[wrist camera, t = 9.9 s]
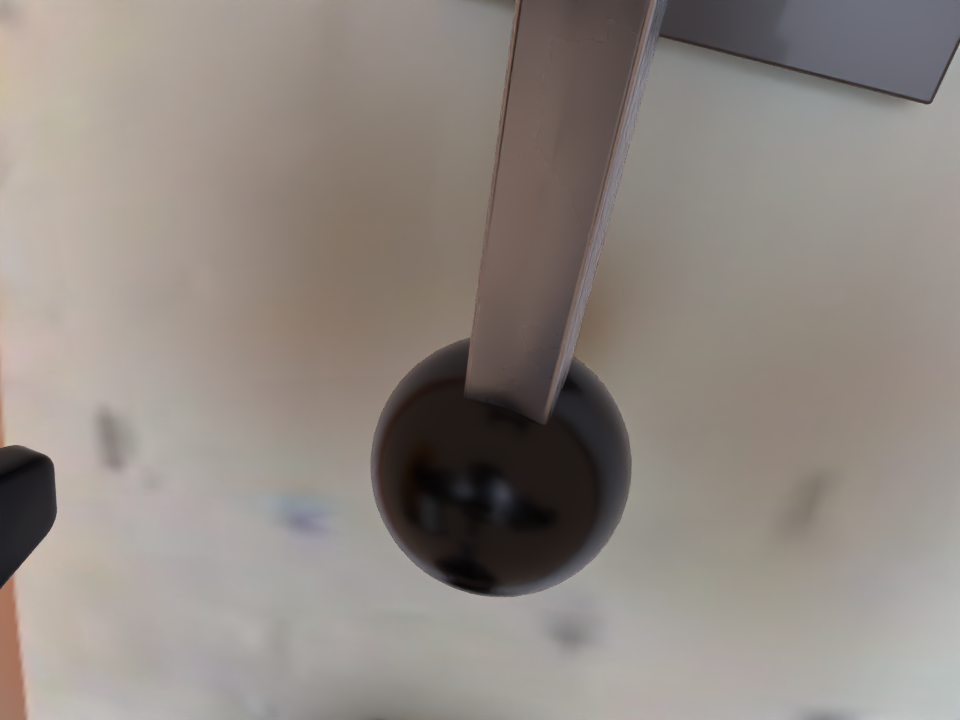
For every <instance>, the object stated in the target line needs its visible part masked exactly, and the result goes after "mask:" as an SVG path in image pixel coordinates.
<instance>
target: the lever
mask: <svg viewBox="0 0 960 720" xmlns="http://www.w3.org/2000/svg"><path fill="white" fill-rule="evenodd" d="M667 3H668V0H516V2H515V10H514V17H513V25H512V32H511V40H510V47H509V55H508V62H507V70H506V77H505V85H504V92H503V100H502V107H501V115H500V122H499V130H498V137H497V145H496V152H495V160H494V168H493V175H492V183H491V190H490V198H489V205H488V213H487V220H486V228H485V235H484V243H483V250H482V258H481V265H480V273H479V280H478V288H477V295H476V303H475V310H474V318H473V325H472V333H471V338H467V339H464V340H460V341H457V342H455V343H452V344H450V345H448V346H446V347H443V348H441V349H439V350H437V351H436V352H434V353H433V354H431V355H430V356H428V357H427V358H425V359H424V360H423V361H421V362H420V363H418V364H417V365H416V366H415V367H414V368H413V369H412V370H411V371H410V372H409V373H408V374H407V375H406V376H405V377H404V378H403V379H402V380H401V381H400V383H399V384H398V385H397V387H396V388H395V390H394V391H393V392H392V394H391V396H390V397H389V399H388V401H387V403H386V404H385V406H384V408H383V410H382V412H381V415H380V418H379V421H378V424H377V427H376V430H375V433H374V438H373V444H372V452H371V480H372V487H373V492H374V497H375V501H376V504H377V507H378V510H379V512H380V515H381V518H382V520H383V522H384V524H385V526H386V528H387V530H388V531H389V533H390V535H391V536H392V538H393V540H394V541H395V543H396V544H397V545H398V547H399V548H400V549H401V550H402V551H403V552H404V553H405V554H406V556H407V557H408V558H409V559H410V560H411V561H412V562H413V563H414V564H415V565H416V566H418V567H419V568H420V569H421V570H423V571H424V572H425V573H427V574H428V575H430V576H431V577H433V578H435V579H436V580H438V581H440V582H442V583H444V584H446V585H448V586H450V587H453V588H455V589H458V590H461V591H464V592H467V593H471V594H475V595H480V596H490V597H515V596H521V595H527V594H532V593H536V592H539V591H542V590H545V589H548V588H550V587H553V586H555V585H557V584H559V583H561V582H563V581H565V580H567V579H568V578H570V577H572V576H573V575H575V574H576V573H577V572H579V571H580V570H582V569H583V568H584V567H585V566H586V565H587V564H588V563H590V562H591V561H592V560H593V559H594V558H595V557H596V556H597V554H598V553H599V552H600V551H601V550H602V548H603V547H604V546H605V545H606V544H607V542H608V541H609V539H610V537H611V536H612V534H613V532H614V531H615V529H616V527H617V525H618V523H619V522H620V519H621V517H622V514H623V511H624V509H625V506H626V502H627V499H628V494H629V489H630V484H631V466H632V458H631V450H630V443H629V437H628V433H627V430H626V427H625V423H624V421H623V418H622V415H621V413H620V411H619V408H618V406H617V404H616V402H615V401H614V399H613V398H612V396H611V394H610V393H609V391H608V390H607V388H606V387H605V385H604V384H603V383H602V382H601V381H600V379H599V378H598V377H597V376H596V375H595V374H594V373H593V372H592V371H591V370H590V369H589V368H588V367H586V366H585V365H584V364H583V363H582V362H580V361H579V360H578V359H577V358H575V357H574V356H573V354H574V350H575V346H576V342H577V339H578V335H579V331H580V327H581V324H582V320H583V316H584V313H585V309H586V305H587V301H588V298H589V294H590V290H591V286H592V283H593V279H594V275H595V271H596V268H597V264H598V260H599V257H600V253H601V249H602V245H603V242H604V238H605V234H606V230H607V227H608V223H609V219H610V216H611V212H612V208H613V204H614V201H615V197H616V193H617V189H618V186H619V182H620V178H621V174H622V171H623V167H624V163H625V160H626V156H627V152H628V148H629V145H630V141H631V137H632V133H633V130H634V126H635V122H636V119H637V115H638V111H639V107H640V104H641V100H642V96H643V92H644V89H645V85H646V81H647V77H648V74H649V70H650V66H651V63H652V59H653V55H654V51H655V48H656V44H657V40H658V36H659V33H660V29H661V25H662V21H663V18H664V14H665V10H666V7H667Z"/></svg>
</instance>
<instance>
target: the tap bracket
mask: <svg viewBox="0 0 960 720" xmlns="http://www.w3.org/2000/svg"><path fill="white" fill-rule="evenodd" d="M659 37H663V38H667V39H671V40H675V41H679V42H683V43H687V44H690V45H694V46H698V47H702V48H706V49H710V50H714V51H718V52H722V53H726V54H730V55H734V56H738V57H742V58H746V59H750V60H753V61H757V62H761V63H765V64H769V65H773V66H777V67H781V68H785V69H789V70H793V71H797V72H801V73H805V74H809V75H812V76H816V77H820V78H824V79H828V80H832V81H836V82H840V83H844V84H848V85H852V86H856V87H860V88H864V89H868V90H871V91H875V92H879V93H883V94H887V95H891V96H895V97H899V98H903V99H907V100H911V101H915V102H919V103H923V104H931V103H932V102H933V99H934V97H935V95H936V93H937V91H938V89H939V87H940V84H941V82H942V80H943V78H944V76H945V74H946V72H947V69H948V67H949V65H950V63H951V61H952V59H953V57H954V54H955V52H956V50H957V48H958V46H959V44H960V0H668V3H667V7H666V10H665V14H664V18H663V21H662V25H661V29H660V33H659Z"/></svg>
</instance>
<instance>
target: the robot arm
mask: <svg viewBox="0 0 960 720" xmlns="http://www.w3.org/2000/svg"><path fill="white" fill-rule="evenodd" d="M56 514H57V504H56V488H55V472H54V464H53V462H52V461H51V459H50V458H49V457H48V456H46V455H44V454H42V453H39V452H36V451H34V450H31V449H29V448H26V447H24V446H19V445H13V446H7V447H3V448H0V589H1V588H2V586H3V585H4V584H5V583H6V582H7V581H8V579H9V578H10V577H11V576H12V575H13V574H14V572H15V571H16V570H17V569H18V568H19V567H20V565H21V564H22V563H23V562H24V561H25V560H26V558H27V557H28V556H29V555H30V554H31V553H32V551H33V550H34V549H35V548H36V547H37V545H38V544H39V543H40V542H41V541H42V540H43V538H44V537H45V536H46V535H47V534H48V532H49V531H50V529H51V527H52V526H53V523H54V521H55V518H56Z"/></svg>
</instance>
